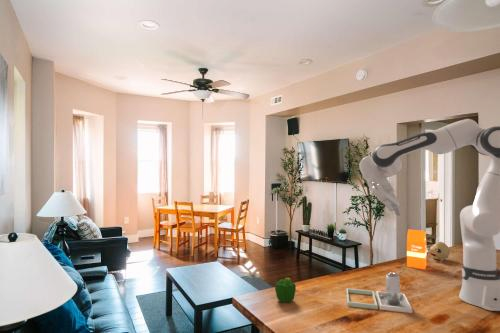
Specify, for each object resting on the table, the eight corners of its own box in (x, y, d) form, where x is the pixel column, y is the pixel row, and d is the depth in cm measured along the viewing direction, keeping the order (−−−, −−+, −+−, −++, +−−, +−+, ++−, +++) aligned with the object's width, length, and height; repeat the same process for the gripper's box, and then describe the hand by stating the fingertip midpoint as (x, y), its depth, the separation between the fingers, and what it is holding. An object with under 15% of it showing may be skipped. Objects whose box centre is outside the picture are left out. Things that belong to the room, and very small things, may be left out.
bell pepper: (271, 298, 132) (271, 275, 132) (288, 295, 136) (288, 272, 136) (281, 306, 125) (281, 281, 125) (299, 302, 128) (298, 278, 128)
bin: (373, 297, 132) (373, 290, 132) (377, 313, 119) (377, 305, 119) (346, 295, 135) (346, 288, 135) (347, 309, 122) (347, 302, 122)
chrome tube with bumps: (398, 301, 125) (398, 271, 125) (401, 306, 120) (400, 275, 120) (385, 299, 127) (385, 270, 127) (387, 305, 122) (386, 274, 122)
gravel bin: (404, 300, 129) (404, 293, 129) (412, 316, 115) (412, 308, 115) (376, 298, 132) (375, 291, 132) (380, 313, 118) (380, 305, 118)
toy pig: (424, 259, 185) (423, 241, 185) (436, 256, 190) (436, 239, 190) (440, 263, 176) (440, 245, 176) (453, 260, 181) (453, 242, 181)
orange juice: (409, 262, 178) (408, 228, 178) (426, 265, 173) (426, 229, 173) (406, 266, 172) (406, 230, 172) (424, 269, 167) (424, 232, 167)
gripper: (378, 176, 134) (394, 203, 126) (394, 189, 148) (409, 214, 139) (365, 183, 136) (380, 210, 128) (382, 196, 150) (396, 221, 142)
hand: (395, 212), depth 134 cm, fingers open, 8 cm apart
